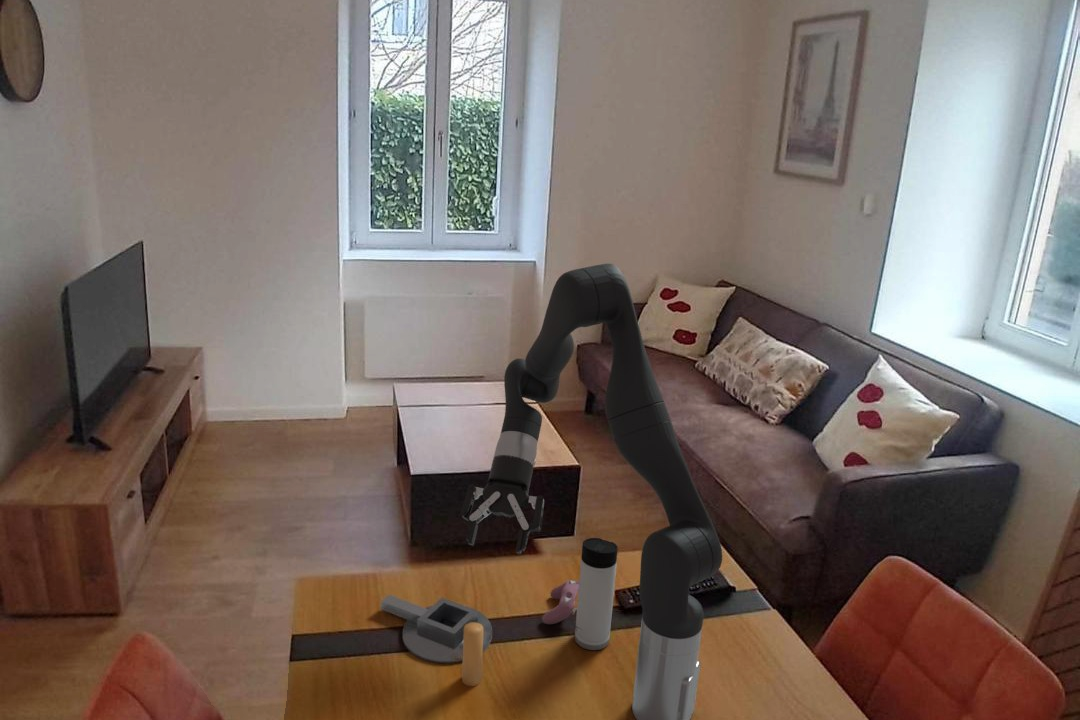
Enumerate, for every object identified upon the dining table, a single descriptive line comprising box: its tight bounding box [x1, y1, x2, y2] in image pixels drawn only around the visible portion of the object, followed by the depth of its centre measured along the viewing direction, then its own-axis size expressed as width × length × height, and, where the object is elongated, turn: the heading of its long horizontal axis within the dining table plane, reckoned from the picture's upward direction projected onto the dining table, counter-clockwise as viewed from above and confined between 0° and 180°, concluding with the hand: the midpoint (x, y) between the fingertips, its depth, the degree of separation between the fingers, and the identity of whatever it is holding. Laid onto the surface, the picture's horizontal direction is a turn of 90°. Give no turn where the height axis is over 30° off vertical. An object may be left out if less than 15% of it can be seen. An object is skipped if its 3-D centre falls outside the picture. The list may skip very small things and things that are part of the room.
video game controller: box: [541, 579, 579, 625], centre depth 155 cm, size 10×5×7 cm, turn 169°
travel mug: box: [574, 537, 619, 651], centre depth 145 cm, size 6×7×20 cm
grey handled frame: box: [380, 594, 493, 664], centre depth 148 cm, size 22×16×4 cm
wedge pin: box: [461, 622, 484, 687], centre depth 135 cm, size 3×3×10 cm
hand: (494, 548), depth 142 cm, fingers open, 8 cm apart
